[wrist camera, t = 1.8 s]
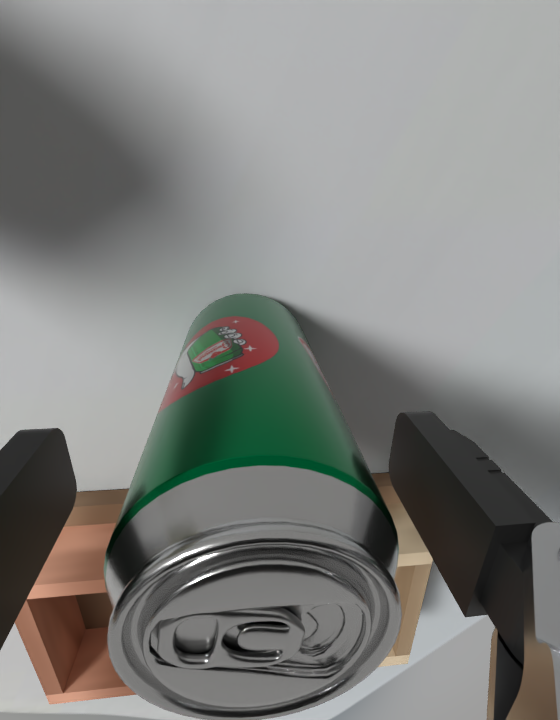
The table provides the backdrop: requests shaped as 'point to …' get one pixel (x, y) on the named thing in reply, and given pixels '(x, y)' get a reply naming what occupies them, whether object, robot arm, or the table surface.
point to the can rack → (93, 607)
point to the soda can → (250, 533)
